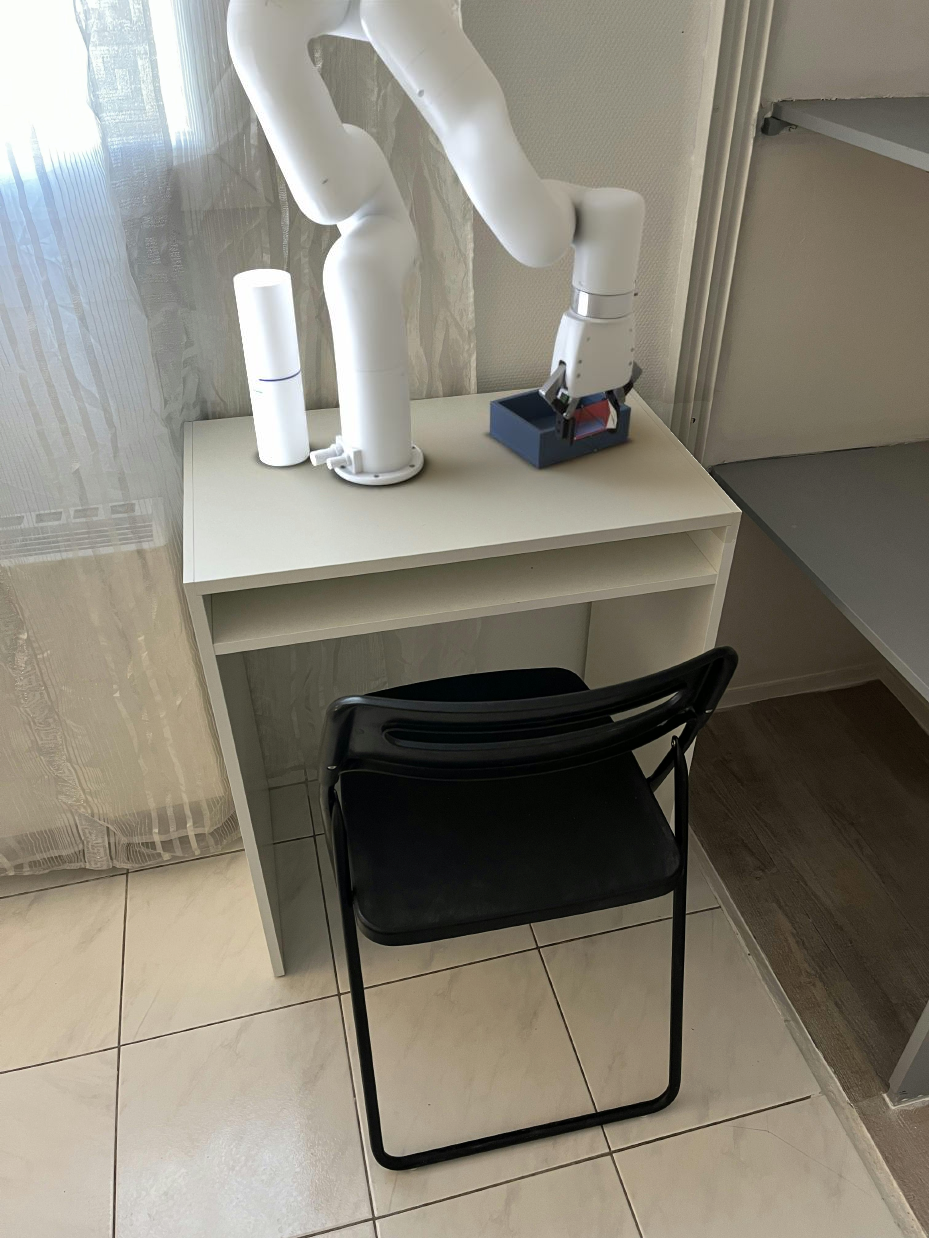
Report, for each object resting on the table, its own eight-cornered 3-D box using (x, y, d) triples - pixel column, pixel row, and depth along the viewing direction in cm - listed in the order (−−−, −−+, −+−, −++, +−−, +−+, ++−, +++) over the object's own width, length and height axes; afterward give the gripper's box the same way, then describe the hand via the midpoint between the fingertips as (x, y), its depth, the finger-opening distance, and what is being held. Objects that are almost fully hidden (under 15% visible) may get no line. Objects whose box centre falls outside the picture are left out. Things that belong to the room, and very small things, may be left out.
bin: (538, 468, 131) (539, 433, 128) (489, 434, 139) (489, 401, 136) (627, 441, 138) (631, 407, 134) (575, 410, 146) (578, 378, 143)
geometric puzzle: (548, 440, 120) (591, 394, 116) (543, 416, 126) (584, 372, 122) (589, 470, 123) (632, 426, 119) (582, 446, 128) (623, 403, 125)
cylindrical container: (300, 468, 131) (278, 288, 116) (252, 463, 132) (224, 284, 117) (316, 445, 137) (298, 271, 122) (270, 441, 138) (246, 267, 123)
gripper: (636, 281, 119) (618, 412, 130) (524, 302, 112) (515, 439, 123) (676, 299, 114) (654, 433, 125) (562, 322, 107) (549, 462, 118)
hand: (585, 435), depth 124 cm, fingers closed on geometric puzzle, 6 cm apart
